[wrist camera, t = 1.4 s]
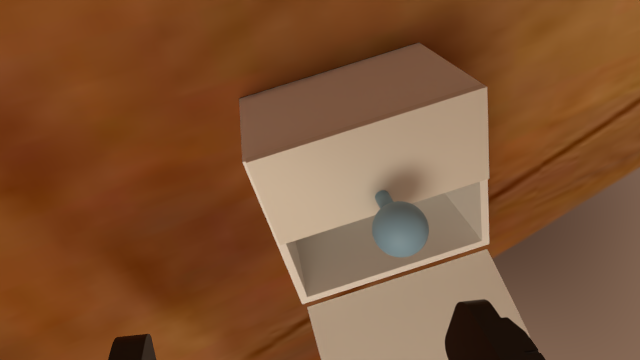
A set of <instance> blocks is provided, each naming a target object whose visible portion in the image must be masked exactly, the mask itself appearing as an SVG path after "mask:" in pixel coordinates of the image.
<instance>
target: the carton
mask: <svg viewBox="0 0 640 360" xmlns="http://www.w3.org/2000/svg"><path fill="white" fill-rule="evenodd" d="M480 84H482V83H481V82H479V81H477V80H476V79H474V78H473V77H471V76H470V75H468V74H467V73H465V72H464V71H462V70H461V69H459V68H458V67H456V66H454V65H453V64H451V63H450V62H448V61H447V60H445V59H444V58H442V57H441V56H439V55H438V54H436V53H434V52H433V51H431V50H430V49H428V48H427V47H425V46H424V45H422V44H421V43H416V44H413V45H409V46H406V47H403V48H400V49H397V50H393V51H390V52H387V53H384V54H381V55H377V56H374V57H371V58H368V59H365V60H361V61H358V62H355V63H352V64H349V65H345V66H342V67H339V68H336V69H333V70H329V71H326V72H323V73H320V74H317V75H313V76H310V77H307V78H304V79H301V80H297V81H294V82H291V83H288V84H285V85H281V86H278V87H275V88H272V89H269V90H265V91H262V92H259V93H256V94H253V95H249V96H246V97H243V98H240V99H239V106H240V125H241V144H242V162H243V165H244V167H245V169H246V172H247V174H248V177H249V179H250V181H251V184H252V186H253V188H254V191H255V193H256V195H257V198H258V200H259V203H260V205H261V207H262V210H263V212H264V214H265V217H266V219H267V222H268V224H269V226H270V229H271V231H272V233H273V236H274V238H275V241H276V243H277V245H278V248H279V250H280V252H281V255H282V257H283V260H284V262H285V264H286V267H287V269H288V271H289V274H290V276H291V279H292V281H293V283H294V286H295V288H296V290H297V293H298V295H299V297H300V300H301V302H302V304H304V303H308V302H311V301H314V300H317V299H320V298H323V297H326V296H329V295H332V294H335V293H339V292H342V291H345V290H348V289H351V288H354V287H357V286H360V285H363V284H366V283H370V282H373V281H376V280H379V279H382V278H385V277H388V276H391V275H394V274H397V273H401V272H404V271H407V270H410V269H413V268H416V267H419V266H422V265H425V264H428V263H432V262H435V261H438V260H441V259H444V258H447V257H450V256H453V255H456V254H459V253H463V252H466V251H469V250H472V249H475V248H478V247H481V246H484V245H487V244H489V212H488V179H486V180H483V181H480V182H477V183H474V184H471V185H468V186H465V187H461V188H458V189H455V190H452V191H449V192H446V193H443V194H440V195H436V196H433V197H430V198H427V199H424V200H421V201H418V202H415V203H411V204H413V205H415V206H416V207H418V208H419V209H420V210H421V211H422V212H423V213H424V215H425V217H426V219H427V221H428V225H429V234H428V239H427V241H426V243H425V245H424V246H423V248H422V249H421V250H420V251H419V252H417V253H416V254H414V255H412V256H409V257H402V258H401V257H394V256H390V255H388V254H386V253H385V252H383V251H382V250H381V249H380V248H379V247H378V246H377V244H376V242H375V240H374V238H373V234H372V223H373V220H374V217H375V215H374V216H371V217H368V218H364V219H361V220H358V221H355V222H352V223H349V224H346V225H343V226H339V227H336V228H333V229H330V230H327V231H324V232H321V233H318V234H314V235H311V236H308V237H305V238H302V239H299V240H296V241H293V242H289V243H286V244H283V245H280V244H279V241H278V239H277V237H276V234H275V232H274V229H273V227H272V225H271V222H270V220H269V217H268V215H267V213H266V210H265V208H264V205H263V203H262V201H261V198H260V196H259V193H258V191H257V189H256V186H255V184H254V181H253V179H252V177H251V174H250V172H249V169H248V167H247V165H246V158H248V157H251V156H254V155H258V154H261V153H264V152H267V151H270V150H274V149H277V148H280V147H283V146H286V145H289V144H293V143H296V142H299V141H302V140H305V139H308V138H312V137H315V136H318V135H321V134H324V133H327V132H331V131H334V130H337V129H340V128H343V127H346V126H350V125H353V124H356V123H359V122H362V121H365V120H369V119H372V118H375V117H378V116H381V115H384V114H388V113H391V112H394V111H397V110H400V109H404V108H407V107H410V106H413V105H416V104H419V103H423V102H426V101H429V100H432V99H435V98H438V97H442V96H445V95H448V94H451V93H454V92H457V91H461V90H464V89H467V88H470V87H473V86H476V85H480Z"/></svg>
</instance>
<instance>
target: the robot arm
mask: <svg viewBox="0 0 640 360" xmlns="http://www.w3.org/2000/svg"><path fill="white" fill-rule="evenodd" d="M445 350H446V354H447V357H448V360H545V358H544V357H543V355H542V354H541V353H539V352H538V349H537V347H536V346H535V344H534V343H533V342H532V340H531V339H530V338H529V336H528V335H527V333H526V332H525V331H524V330H523V329H521V328H520V327H519V326H518V325H516V324H515V323H514V322H513V321H512V320H510V319H509V318H508V317H504V318H501V317H500V316H499V314H498V313H497V311H496V310H495V308H494V307H493V305H492V304H491V303H490V302H489V301H488V300H485V299H480V300H471V301H462V302H458V303H457V304H456V306H455V309H454V312H453V315H452V318H451V321H450V324H449V327H448V330H447V333H446V336H445ZM108 360H156V357H155V352H154V348H153V343H152V339H151V336H150V334H143V335H134V336H124V337H117V338H115V340H114V342H113V344H112V348H111V351H110V355H109V359H108Z"/></svg>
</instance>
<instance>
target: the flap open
mask: <svg viewBox="0 0 640 360" xmlns="http://www.w3.org/2000/svg"><path fill="white" fill-rule="evenodd" d="M480 299H485V300H488V301H489V302H490V303H491V304H492V305H493V307H494V308H495V310H496V311H497V313H498V314H499V316H500V317H501V318H504V317H508V318H509V319H510V320H512V321H513V322H514V323H515V324H516V325H518V326H519V327H520V328H521V329H523V330H524V331H525V332H526V333H527V335H528V336H529V337H530V335H529V333H528V331H527V329H526V327H525V325H524V323H523V321H522V319H521V317H520V315H519V313H518V311H517V309H516V307H515V305H514V302H513V301H512V298H511V296H510V294H509V293H508V290H507V288H506V286H505V284H504V282H503V280H502V278H501V276H500V274H499V272H498V270H497V268H496V266H495V264H494V262H493V260H492V258H491V256H490V254H489V252H488V250H487V249H486V250H483V251H480V252H477V253H474V254H471V255H468V256H465V257H461V258H458V259H455V260H452V261H449V262H446V263H443V264H440V265H437V266H434V267H430V268H427V269H424V270H421V271H418V272H415V273H412V274H409V275H406V276H403V277H399V278H396V279H393V280H390V281H387V282H384V283H381V284H378V285H375V286H372V287H369V288H365V289H362V290H359V291H356V292H353V293H350V294H347V295H344V296H341V297H338V298H334V299H331V300H328V301H325V302H322V303H319V304H316V305H313V306H310V307H307V308H308V312H309V316H310V320H311V323H312V327H313V331H314V335H315V338H316V342H317V346H318V349H319V353H320V357H321V360H448V357H447V354H446V350H445V336H446V333H447V330H448V327H449V324H450V321H451V318H452V315H453V312H454V309H455V306H456V304H457V303H458V302H462V301H471V300H480Z"/></svg>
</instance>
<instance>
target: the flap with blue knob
mask: <svg viewBox="0 0 640 360" xmlns="http://www.w3.org/2000/svg"><path fill="white" fill-rule="evenodd" d="M246 165H247V167H248V169H249V172H250V174H251V177H252V179H253V181H254V184H255V186H256V189H257V191H258V193H259V196H260V198H261V201H262V203H263V205H264V208H265V210H266V213H267V215H268V217H269V220H270V222H271V225H272V227H273V229H274V232H275V234H276V237H277V239H278V241H279V244H280V245H283V244H286V243H289V242H293V241H296V240H299V239H302V238H305V237H308V236H311V235H314V234H318V233H321V232H324V231H327V230H330V229H333V228H336V227H339V226H343V225H346V224H349V223H352V222H355V221H358V220H361V219H364V218H368V217H371V216H374V215H375V217H374V220H373V223H372V234H373V238H374V240H375V242H376V244H377V246H378V247H379V248H380V249H381V250H382V251H383V252H385V253H386V254H388V255H390V256H394V257H401V258H402V257H409V256H412V255H414V254H416V253H417V252H419V251H420V250H421V249H422V248H423V246H424V245H425V243H426V241H427V239H428V234H429V225H428V221H427V219H426V217H425V215H424V213H423V212H422V211H421V210H420V209H419V208H418V207H416V206H415V205H413V204H411V203H415V202H418V201H421V200H424V199H427V198H430V197H433V196H436V195H440V194H443V193H446V192H449V191H452V190H455V189H458V188H461V187H465V186H468V185H471V184H474V183H477V182H480V181H483V180H486V179H489V143H488V99H487V86H485V85H484V84H480V85H476V86H473V87H470V88H467V89H464V90H461V91H457V92H454V93H451V94H448V95H445V96H442V97H438V98H435V99H432V100H429V101H426V102H423V103H419V104H416V105H413V106H410V107H407V108H404V109H400V110H397V111H394V112H391V113H388V114H384V115H381V116H378V117H375V118H372V119H369V120H365V121H362V122H359V123H356V124H353V125H350V126H346V127H343V128H340V129H337V130H334V131H331V132H327V133H324V134H321V135H318V136H315V137H312V138H308V139H305V140H302V141H299V142H296V143H293V144H289V145H286V146H283V147H280V148H277V149H274V150H270V151H267V152H264V153H261V154H258V155H254V156H251V157H248V158H246Z"/></svg>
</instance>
